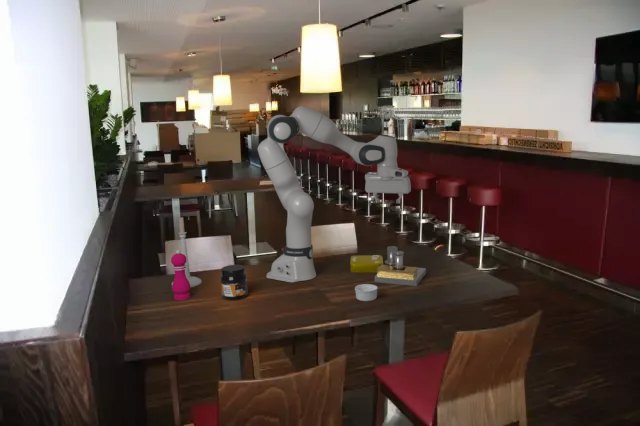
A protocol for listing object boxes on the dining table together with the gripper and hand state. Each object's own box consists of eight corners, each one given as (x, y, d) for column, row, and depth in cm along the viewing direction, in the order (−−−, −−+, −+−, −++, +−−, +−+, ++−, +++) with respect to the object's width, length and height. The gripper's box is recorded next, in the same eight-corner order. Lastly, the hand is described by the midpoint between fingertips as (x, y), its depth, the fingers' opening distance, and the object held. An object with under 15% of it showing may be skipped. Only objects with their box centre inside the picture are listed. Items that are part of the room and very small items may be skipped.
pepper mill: (172, 301, 208) (168, 253, 204) (172, 296, 215) (168, 248, 211) (191, 299, 210) (187, 251, 206) (191, 293, 217) (187, 246, 213)
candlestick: (178, 290, 222) (171, 220, 216) (167, 283, 232) (161, 216, 227) (206, 283, 229) (201, 216, 224) (194, 277, 239) (189, 212, 234)
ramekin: (351, 296, 207) (351, 285, 206) (371, 292, 210) (371, 282, 209) (360, 303, 199) (360, 292, 198) (381, 299, 202) (381, 289, 201)
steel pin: (393, 280, 225) (393, 253, 222) (395, 277, 228) (395, 250, 226) (402, 280, 223) (402, 253, 221) (404, 278, 227) (404, 251, 224)
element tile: (351, 264, 253) (350, 254, 252) (382, 263, 251) (382, 254, 250) (350, 273, 238) (350, 263, 237) (383, 272, 237) (383, 262, 236)
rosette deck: (374, 282, 223) (374, 254, 221) (386, 270, 239) (386, 244, 237) (416, 286, 216) (416, 257, 214) (425, 273, 232) (425, 247, 230)
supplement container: (224, 302, 205) (222, 273, 203) (219, 294, 214) (217, 266, 212) (251, 298, 209) (249, 269, 206) (244, 290, 218) (242, 262, 216)
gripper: (362, 172, 232) (363, 203, 234) (408, 173, 224) (408, 205, 226) (367, 171, 237) (367, 201, 240) (411, 171, 229) (411, 202, 232)
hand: (387, 203), depth 233 cm, fingers open, 8 cm apart
